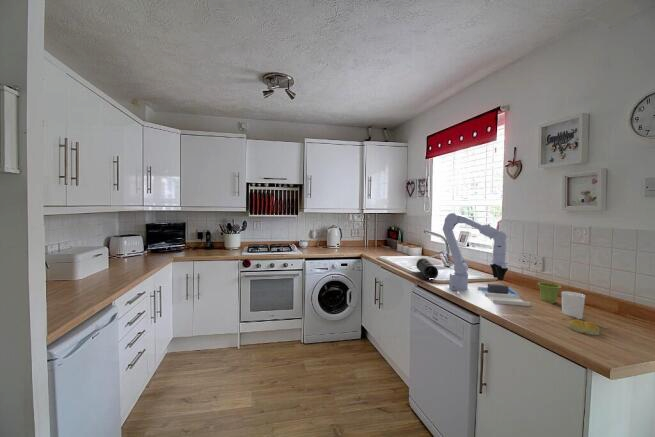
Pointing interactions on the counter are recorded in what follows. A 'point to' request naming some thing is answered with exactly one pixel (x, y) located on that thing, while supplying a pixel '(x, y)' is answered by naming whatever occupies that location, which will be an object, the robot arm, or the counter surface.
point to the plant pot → (549, 292)
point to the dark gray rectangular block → (497, 288)
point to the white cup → (573, 304)
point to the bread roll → (584, 327)
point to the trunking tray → (504, 297)
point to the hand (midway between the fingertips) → (498, 279)
